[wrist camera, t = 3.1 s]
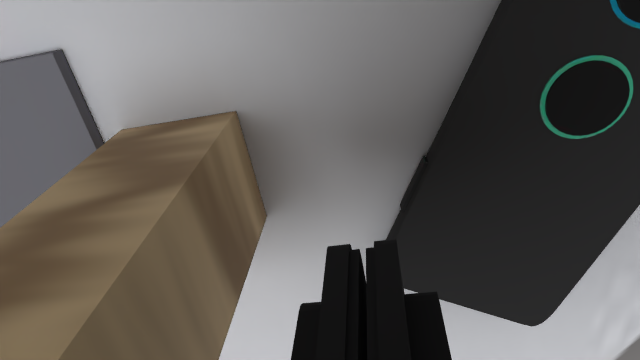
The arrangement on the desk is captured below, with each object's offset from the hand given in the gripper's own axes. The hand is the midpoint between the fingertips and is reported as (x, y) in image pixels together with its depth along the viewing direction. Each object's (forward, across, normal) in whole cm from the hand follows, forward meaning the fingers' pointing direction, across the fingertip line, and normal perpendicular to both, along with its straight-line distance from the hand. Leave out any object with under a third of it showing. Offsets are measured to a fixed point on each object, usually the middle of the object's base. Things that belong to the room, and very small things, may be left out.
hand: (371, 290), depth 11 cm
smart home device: (+9, -8, -1) cm, 12 cm away
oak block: (+8, +7, 0) cm, 11 cm away
